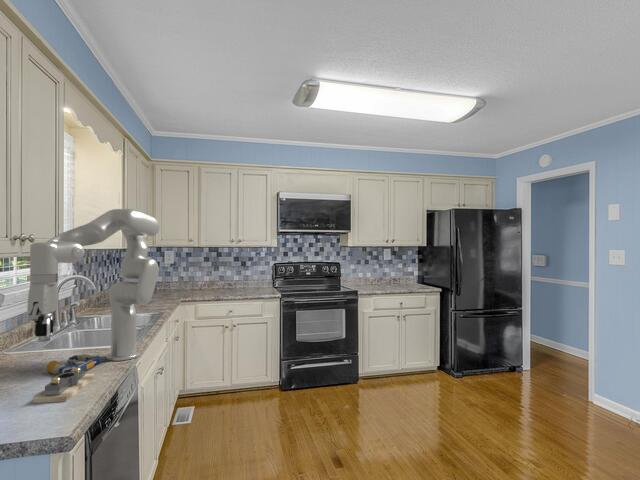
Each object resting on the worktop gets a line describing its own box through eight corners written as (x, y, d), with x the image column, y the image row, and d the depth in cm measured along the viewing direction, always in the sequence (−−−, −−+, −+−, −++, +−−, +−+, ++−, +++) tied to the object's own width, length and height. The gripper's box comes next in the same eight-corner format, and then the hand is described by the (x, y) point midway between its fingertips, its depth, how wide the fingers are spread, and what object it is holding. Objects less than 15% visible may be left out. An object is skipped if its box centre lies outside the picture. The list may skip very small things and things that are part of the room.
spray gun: (33, 379, 131) (77, 379, 132) (33, 367, 131) (77, 367, 132) (69, 362, 152) (107, 362, 153) (70, 351, 152) (107, 352, 153)
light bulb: (40, 339, 126) (40, 312, 126) (54, 338, 126) (54, 312, 126) (33, 342, 122) (33, 315, 121) (48, 342, 122) (48, 314, 122)
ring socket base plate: (65, 379, 131) (66, 362, 131) (93, 377, 133) (94, 360, 133) (33, 403, 111) (33, 382, 111) (66, 401, 113) (67, 381, 113)
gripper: (45, 277, 131) (45, 329, 131) (16, 282, 115) (16, 341, 115) (68, 276, 133) (68, 328, 133) (43, 282, 116) (43, 340, 117)
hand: (44, 333), depth 124 cm, fingers closed on light bulb, 3 cm apart
